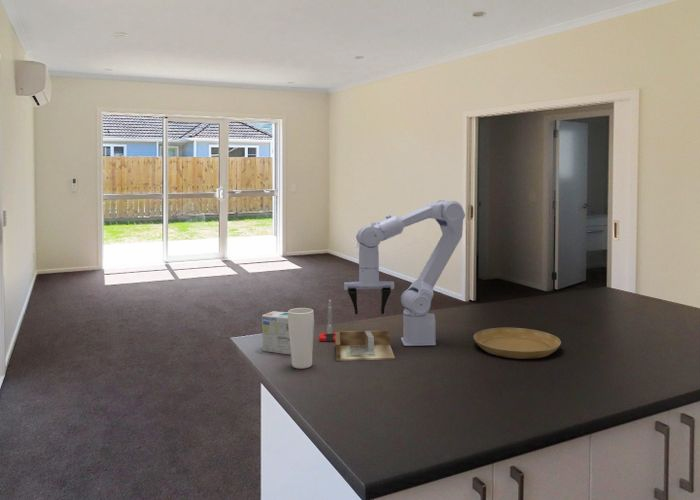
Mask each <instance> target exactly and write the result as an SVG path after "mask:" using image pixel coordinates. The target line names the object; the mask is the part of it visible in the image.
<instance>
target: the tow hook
mask: <svg viewBox="0 0 700 500" xmlns="http://www.w3.org/2000/svg"><path fill="white" fill-rule="evenodd" d="M333 327H334V326H333V307H332V299H328V306H327V327H326V332H323V333H320V334H318V341H319V342H326V343H336V336H335V335H336V332H335V331H333V329H334V328H333Z"/></svg>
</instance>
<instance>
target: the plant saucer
mask: <svg viewBox="0 0 700 500" xmlns="http://www.w3.org/2000/svg"><path fill="white" fill-rule="evenodd" d="M473 339H474V341H475V343H476V344H477V346H478V347H480V349H482V350H483V351H484V352H486V353H488V354H491V355H494V356H497V357H503V358H506V359H507V358H508V359H515V360H516V359H519V360H520V359H521V360H523V359H524V360H527V359H528V360H529V359H531V360H532V359H541V358H545V357H548V356H550V355H551V354H553V353H555V352H556V351H557V350H558V349H559V348H560V347H561V344H562V341H561V339H560V338H559V337H558V336H556V335H553V334H551V333H549V332H545V331H541V330H537V329H531V328H521V327H495V328H494V327H493V328H486V329H482V330H479V331H477V332H475V333H474V335H473Z"/></svg>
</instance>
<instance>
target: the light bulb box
mask: <svg viewBox="0 0 700 500" xmlns="http://www.w3.org/2000/svg"><path fill="white" fill-rule="evenodd" d="M261 324H262V326H261V327H262V329H261V330H262V331H261V332H262V352H270V353H274V354H275V353H276V354H283V355H290V356H291V347H290V338H289V329H288V311H287V312H285V311H276V310H273V311H270V312H267V313H265V314H262V315H261Z"/></svg>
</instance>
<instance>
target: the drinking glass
mask: <svg viewBox="0 0 700 500" xmlns="http://www.w3.org/2000/svg"><path fill="white" fill-rule="evenodd" d="M287 312H288V329H289V338H290V347H291V355H290V356H291V365H292V367H293V368H295V369H299V370H301V369H302V370H303V369H308V368H310V367H312V365H313V347H314V346H313V345H314V332H315V314H314V309H312V308H309V307H308V308H307V307H298V308H297V307H296V308H291V309H289V310H288V311H287Z"/></svg>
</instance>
